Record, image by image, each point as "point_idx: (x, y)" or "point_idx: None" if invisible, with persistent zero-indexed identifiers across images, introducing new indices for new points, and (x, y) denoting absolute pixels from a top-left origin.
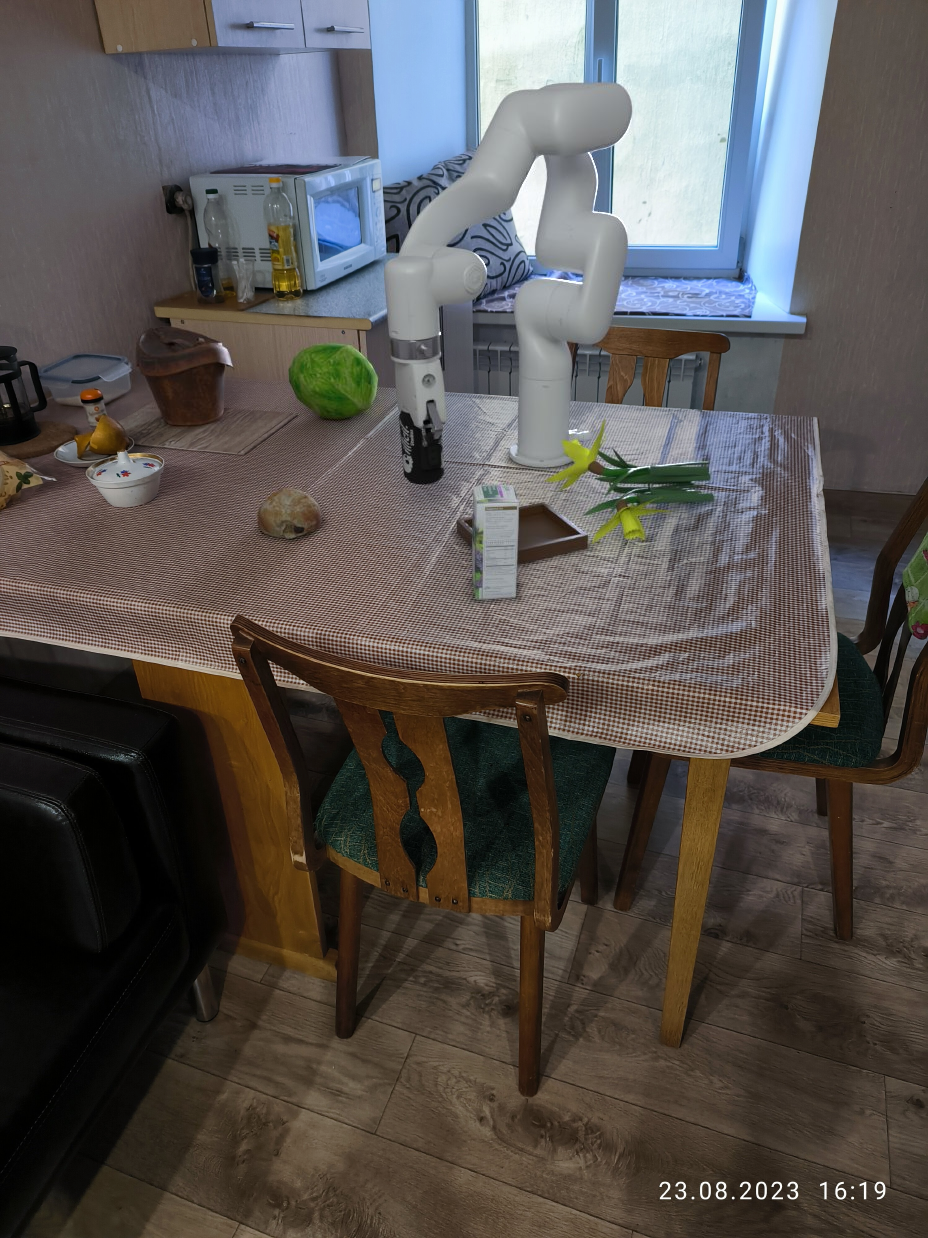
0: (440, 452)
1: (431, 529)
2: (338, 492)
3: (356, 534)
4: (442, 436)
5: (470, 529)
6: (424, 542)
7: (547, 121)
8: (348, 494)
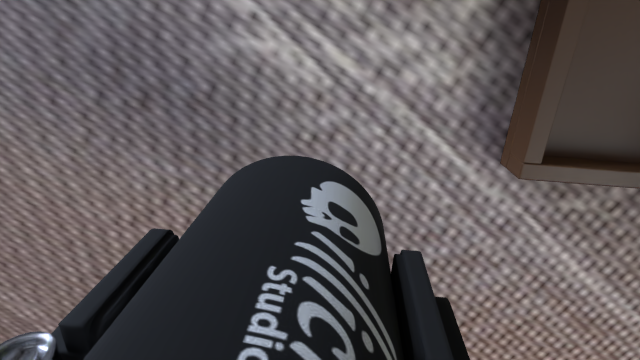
0: (434, 306)
1: (429, 210)
2: None
3: None
4: (323, 286)
5: (617, 175)
6: (488, 258)
7: None
8: None
